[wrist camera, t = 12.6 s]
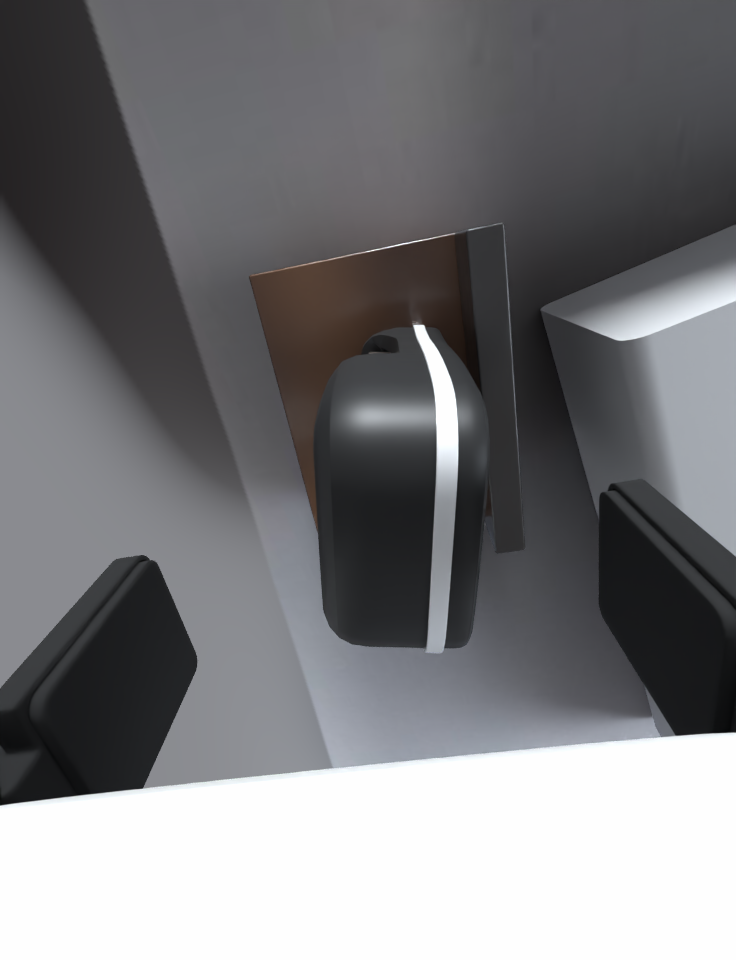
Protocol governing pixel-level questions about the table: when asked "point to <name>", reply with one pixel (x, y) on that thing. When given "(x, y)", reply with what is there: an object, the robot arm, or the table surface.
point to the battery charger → (401, 493)
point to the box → (657, 382)
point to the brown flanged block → (399, 304)
